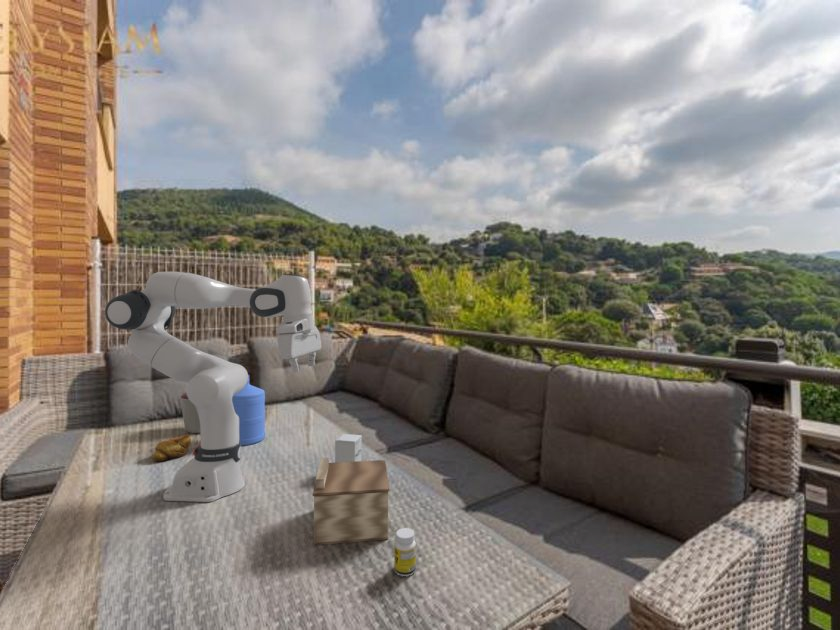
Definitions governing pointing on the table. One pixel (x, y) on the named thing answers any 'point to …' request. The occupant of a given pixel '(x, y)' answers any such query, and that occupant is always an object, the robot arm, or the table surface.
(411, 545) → the supplement bottle
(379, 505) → the box
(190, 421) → the canister
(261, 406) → the water jug
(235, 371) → the robot arm
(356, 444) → the supplement box
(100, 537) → the table surface
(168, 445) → the bread roll
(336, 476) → the lid
